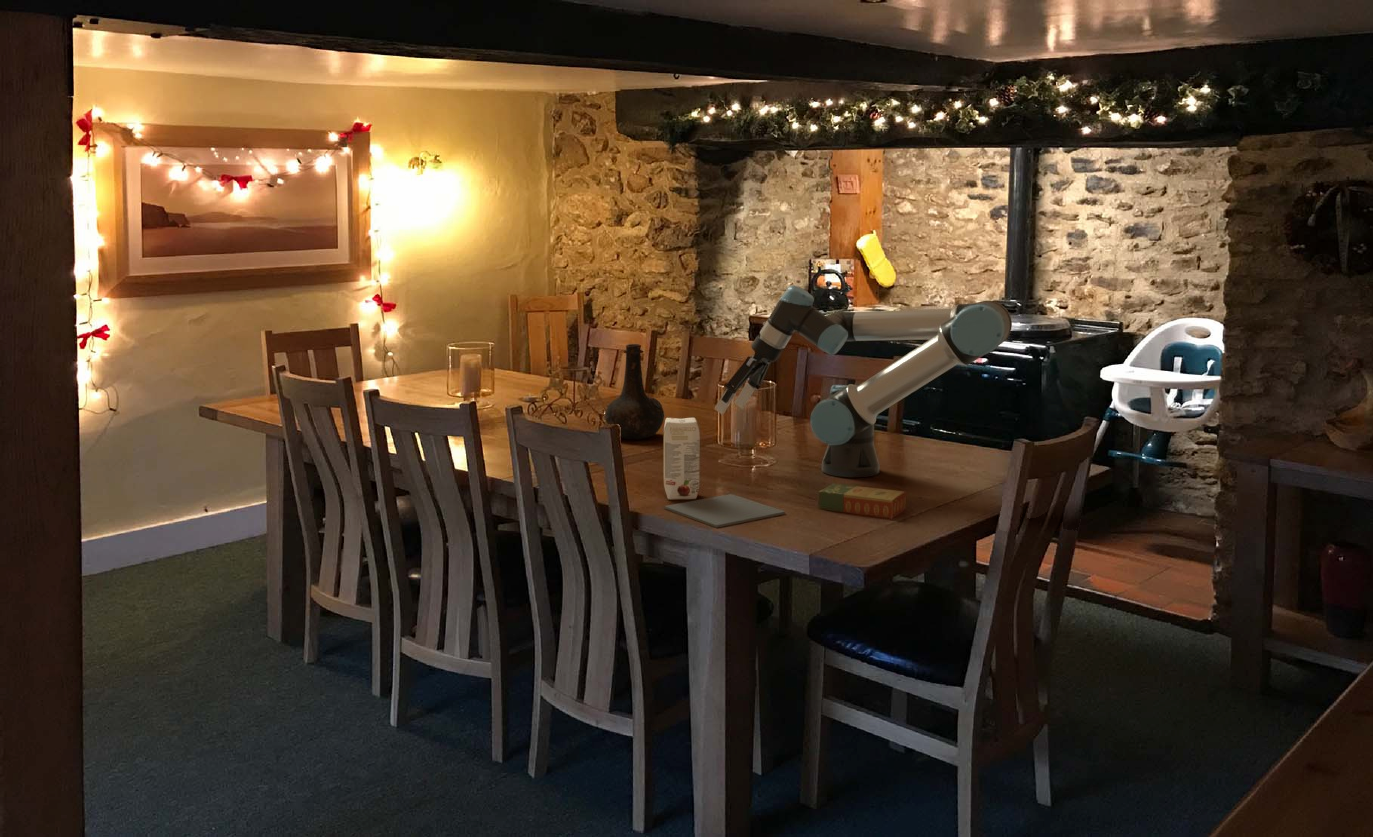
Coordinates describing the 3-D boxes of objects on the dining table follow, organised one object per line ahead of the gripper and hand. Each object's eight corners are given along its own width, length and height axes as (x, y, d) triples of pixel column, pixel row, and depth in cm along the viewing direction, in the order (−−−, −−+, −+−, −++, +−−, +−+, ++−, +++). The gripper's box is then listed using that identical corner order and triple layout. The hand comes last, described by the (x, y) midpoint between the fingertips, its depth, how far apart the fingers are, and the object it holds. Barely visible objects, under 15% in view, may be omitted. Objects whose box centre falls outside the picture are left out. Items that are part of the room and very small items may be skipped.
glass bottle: (650, 444, 351) (650, 349, 346) (595, 440, 357) (594, 346, 352) (673, 433, 367) (673, 342, 362) (619, 429, 373) (619, 339, 368)
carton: (891, 520, 273) (892, 499, 272) (816, 510, 281) (817, 489, 280) (905, 510, 281) (906, 490, 280) (832, 500, 289) (832, 481, 289)
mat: (664, 508, 280) (664, 506, 280) (731, 496, 292) (731, 493, 292) (716, 527, 264) (716, 525, 264) (785, 513, 276) (785, 511, 276)
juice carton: (700, 500, 288) (700, 422, 285) (664, 500, 288) (664, 422, 284) (697, 492, 296) (697, 416, 292) (662, 492, 295) (662, 416, 291)
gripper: (775, 330, 319) (735, 395, 326) (741, 336, 296) (698, 405, 303) (798, 346, 317) (756, 411, 324) (765, 353, 294) (721, 422, 301)
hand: (728, 408), depth 314 cm, fingers open, 13 cm apart
